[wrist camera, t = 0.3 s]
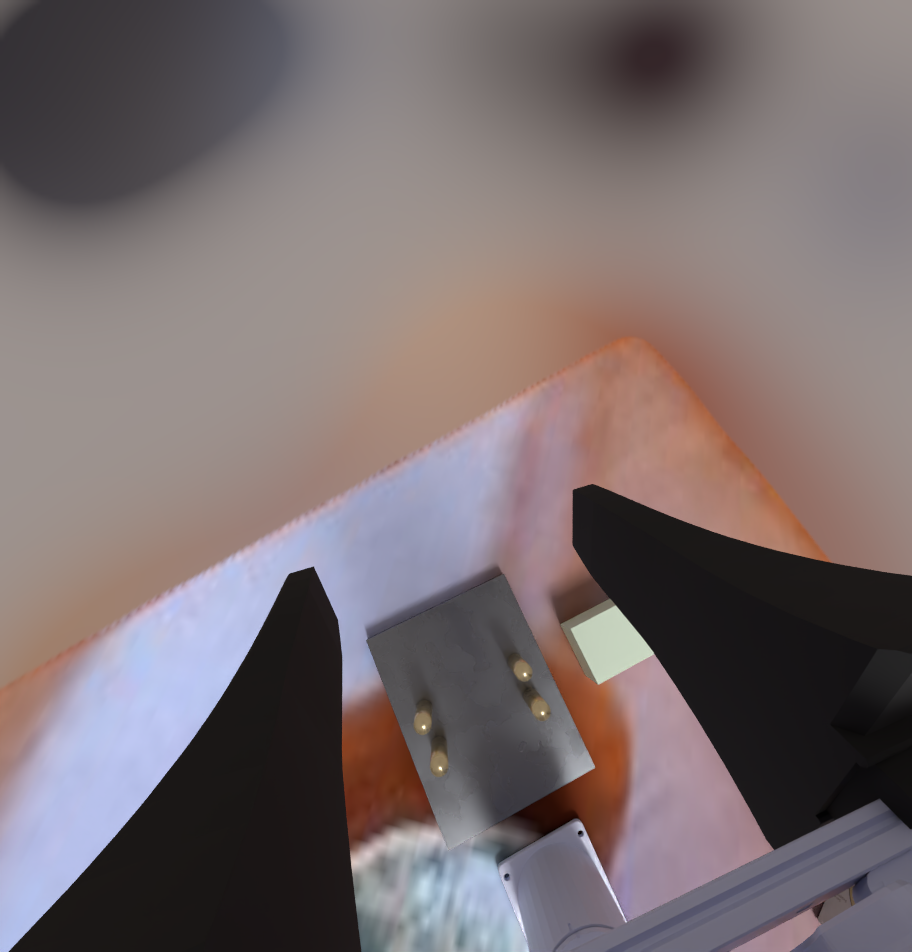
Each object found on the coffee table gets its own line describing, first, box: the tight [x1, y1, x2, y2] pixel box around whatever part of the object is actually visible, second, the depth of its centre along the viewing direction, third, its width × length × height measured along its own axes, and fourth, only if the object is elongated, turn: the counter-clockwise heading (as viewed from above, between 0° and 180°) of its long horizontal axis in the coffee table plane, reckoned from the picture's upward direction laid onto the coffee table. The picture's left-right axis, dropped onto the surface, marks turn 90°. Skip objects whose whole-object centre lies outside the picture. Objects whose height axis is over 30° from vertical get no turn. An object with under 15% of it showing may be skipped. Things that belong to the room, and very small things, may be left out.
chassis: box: [366, 574, 595, 851], centre depth 35 cm, size 18×14×5 cm
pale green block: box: [560, 599, 654, 685], centre depth 38 cm, size 5×12×4 cm, turn 115°
